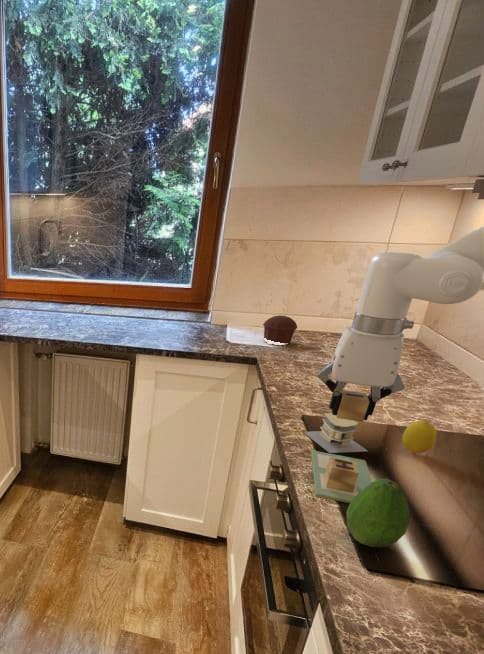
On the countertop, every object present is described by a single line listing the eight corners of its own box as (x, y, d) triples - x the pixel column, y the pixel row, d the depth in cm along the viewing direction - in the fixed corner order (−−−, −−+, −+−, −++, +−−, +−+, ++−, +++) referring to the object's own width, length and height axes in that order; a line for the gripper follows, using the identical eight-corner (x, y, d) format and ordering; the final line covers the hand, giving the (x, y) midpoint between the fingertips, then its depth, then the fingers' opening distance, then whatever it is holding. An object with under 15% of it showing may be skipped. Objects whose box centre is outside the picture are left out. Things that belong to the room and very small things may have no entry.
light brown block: (349, 481, 92) (356, 461, 90) (352, 493, 88) (359, 472, 86) (324, 475, 93) (330, 456, 92) (325, 487, 90) (331, 466, 88)
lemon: (435, 458, 101) (449, 425, 97) (413, 461, 100) (426, 427, 96) (412, 446, 105) (424, 414, 102) (391, 448, 105) (402, 416, 101)
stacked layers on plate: (302, 431, 112) (308, 411, 110) (338, 430, 113) (344, 409, 110) (329, 453, 103) (336, 430, 101) (368, 451, 103) (375, 429, 101)
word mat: (364, 462, 99) (365, 459, 99) (378, 509, 84) (379, 506, 84) (311, 452, 103) (311, 449, 103) (315, 495, 88) (316, 492, 88)
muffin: (283, 338, 184) (289, 312, 179) (299, 346, 174) (306, 320, 169) (254, 338, 183) (259, 313, 179) (268, 347, 173) (274, 320, 169)
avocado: (343, 550, 75) (365, 487, 70) (336, 522, 81) (356, 462, 76) (403, 565, 72) (430, 500, 67) (391, 534, 78) (415, 473, 73)
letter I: (359, 413, 94) (366, 392, 92) (362, 422, 90) (370, 400, 89) (334, 409, 96) (340, 388, 94) (336, 418, 92) (342, 396, 90)
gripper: (428, 325, 85) (396, 415, 93) (322, 315, 92) (300, 400, 99) (440, 335, 79) (404, 431, 87) (325, 323, 86) (301, 414, 93)
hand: (348, 414), depth 93 cm, fingers closed on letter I, 4 cm apart
